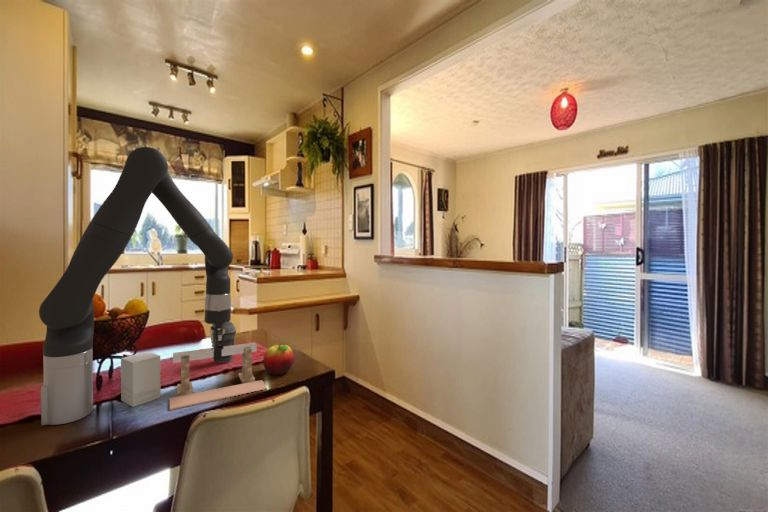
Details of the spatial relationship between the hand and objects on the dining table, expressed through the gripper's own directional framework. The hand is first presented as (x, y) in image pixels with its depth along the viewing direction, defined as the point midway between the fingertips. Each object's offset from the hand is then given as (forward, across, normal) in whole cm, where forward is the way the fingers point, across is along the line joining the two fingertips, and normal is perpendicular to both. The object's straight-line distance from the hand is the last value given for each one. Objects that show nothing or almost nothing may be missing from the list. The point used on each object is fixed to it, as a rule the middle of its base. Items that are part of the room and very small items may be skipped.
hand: (216, 359), depth 106 cm
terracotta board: (+8, +8, 0) cm, 11 cm away
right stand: (+8, 0, +9) cm, 12 cm away
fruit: (+8, -1, +20) cm, 22 cm away
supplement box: (+9, 0, -20) cm, 22 cm away
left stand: (+8, 0, -9) cm, 12 cm away
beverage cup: (+8, -20, +5) cm, 22 cm away
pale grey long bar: (-1, 0, 0) cm, 1 cm away
